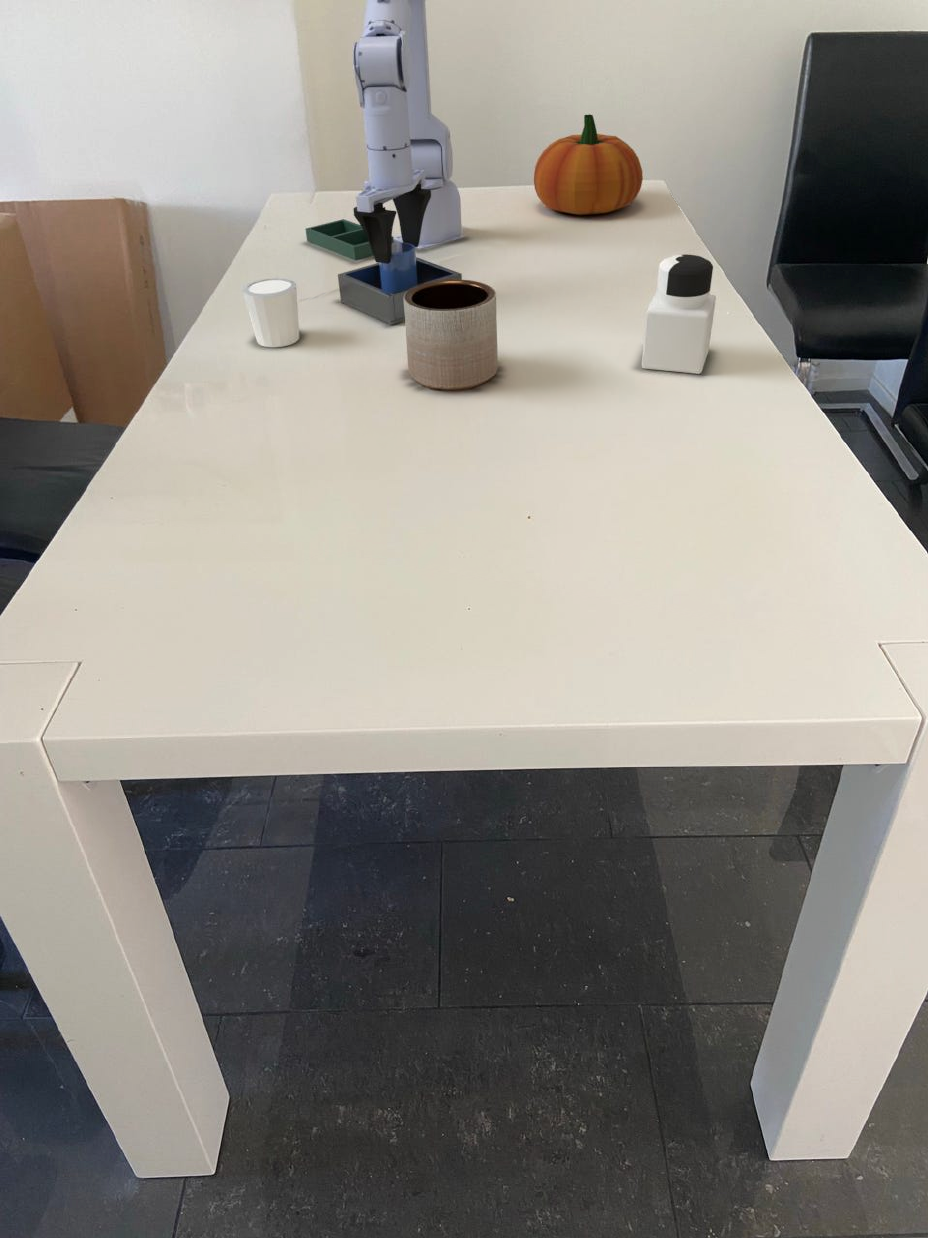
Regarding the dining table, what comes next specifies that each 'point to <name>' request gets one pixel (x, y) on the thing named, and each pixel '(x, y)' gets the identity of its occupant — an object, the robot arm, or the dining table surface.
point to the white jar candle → (273, 311)
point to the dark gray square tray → (369, 297)
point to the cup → (399, 269)
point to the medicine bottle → (680, 316)
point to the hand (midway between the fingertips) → (397, 253)
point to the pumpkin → (588, 173)
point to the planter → (451, 333)
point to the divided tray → (341, 239)
